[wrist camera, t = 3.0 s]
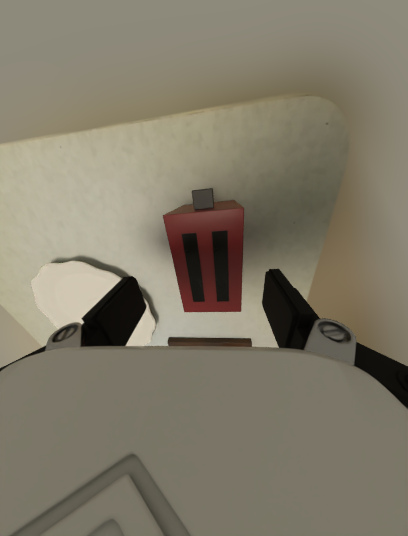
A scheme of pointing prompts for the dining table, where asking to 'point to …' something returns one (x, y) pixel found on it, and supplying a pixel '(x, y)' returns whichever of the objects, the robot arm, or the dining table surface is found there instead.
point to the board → (210, 342)
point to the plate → (80, 295)
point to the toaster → (207, 252)
